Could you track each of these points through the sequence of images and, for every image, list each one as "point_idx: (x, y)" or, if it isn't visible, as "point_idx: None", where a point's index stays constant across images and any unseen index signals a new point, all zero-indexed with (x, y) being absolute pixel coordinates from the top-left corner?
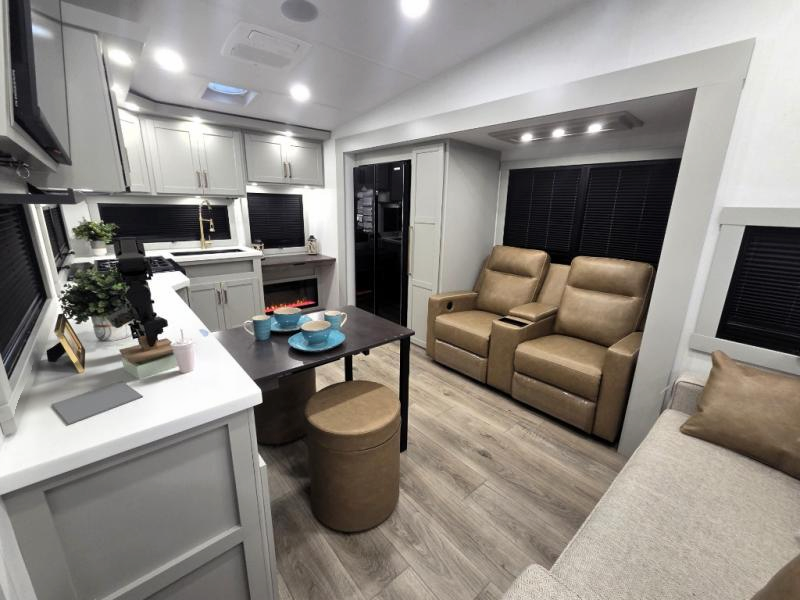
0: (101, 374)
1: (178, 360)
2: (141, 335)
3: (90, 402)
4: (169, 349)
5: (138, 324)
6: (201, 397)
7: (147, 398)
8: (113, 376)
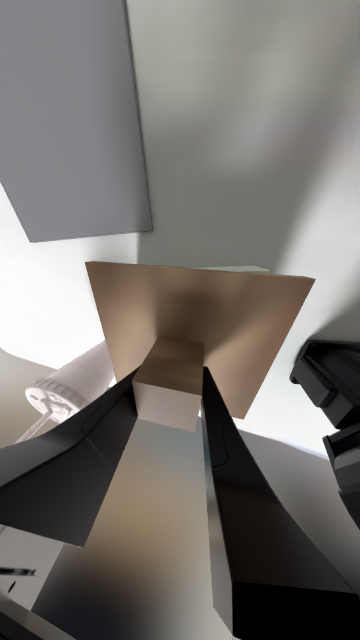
0: (295, 187)
1: (84, 353)
2: (205, 412)
3: (38, 92)
4: (120, 375)
5: (224, 606)
6: (3, 309)
7: (25, 247)
8: (225, 221)
